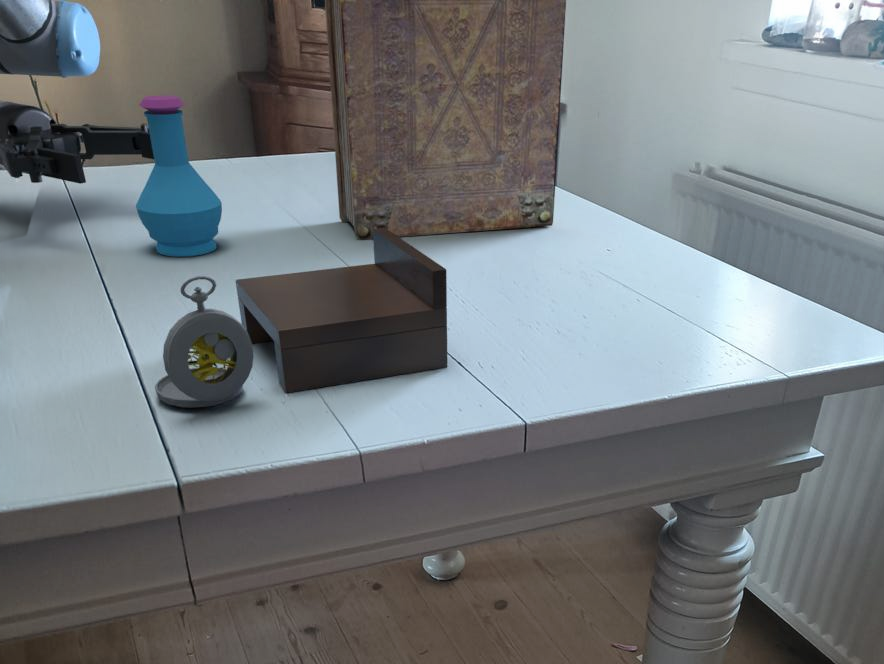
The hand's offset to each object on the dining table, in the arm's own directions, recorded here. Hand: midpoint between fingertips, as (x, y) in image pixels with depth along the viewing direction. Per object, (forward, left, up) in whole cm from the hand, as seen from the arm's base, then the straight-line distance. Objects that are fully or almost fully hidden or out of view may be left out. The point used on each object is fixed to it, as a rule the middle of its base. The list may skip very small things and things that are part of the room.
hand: (131, 159), depth 104 cm
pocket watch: (-4, -50, -9) cm, 51 cm away
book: (+35, -7, -9) cm, 37 cm away
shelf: (+9, -44, -8) cm, 46 cm away
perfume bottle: (+3, -6, -9) cm, 11 cm away
